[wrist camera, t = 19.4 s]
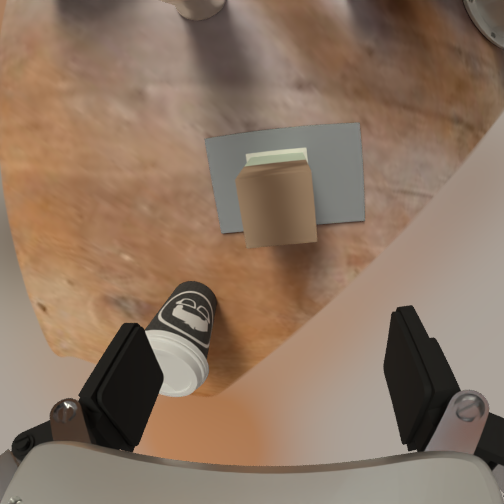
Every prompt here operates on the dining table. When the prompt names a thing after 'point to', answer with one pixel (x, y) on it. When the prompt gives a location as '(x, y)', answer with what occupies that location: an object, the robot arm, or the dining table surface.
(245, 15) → the dining table surface
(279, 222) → the walnut block
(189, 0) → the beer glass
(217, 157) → the felt mat
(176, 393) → the coffee cup
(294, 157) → the sage block
